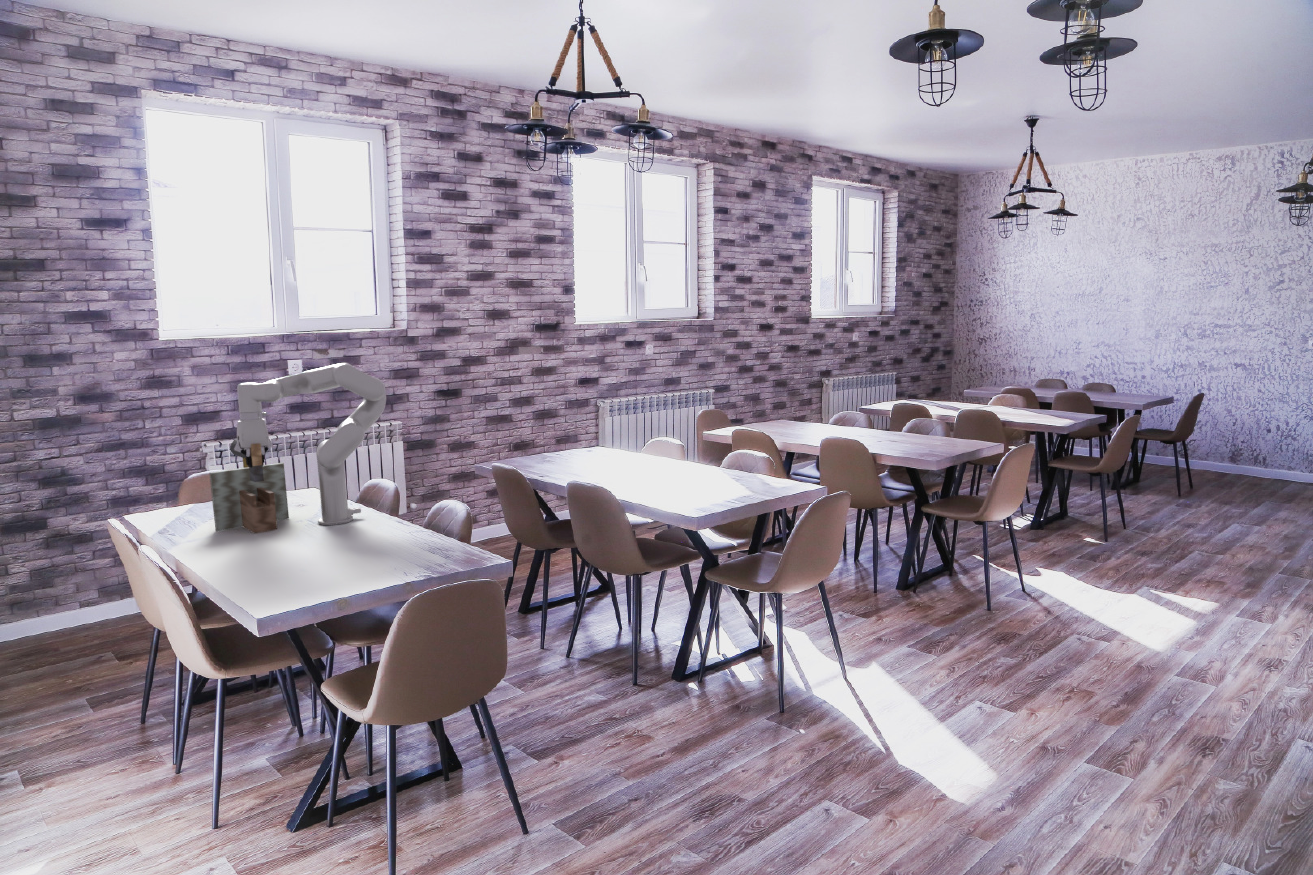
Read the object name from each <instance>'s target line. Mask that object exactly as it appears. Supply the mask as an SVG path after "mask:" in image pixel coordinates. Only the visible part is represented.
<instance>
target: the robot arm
mask: <svg viewBox="0 0 1313 875" xmlns="http://www.w3.org/2000/svg"><path fill="white" fill-rule="evenodd" d="M339 387H342V388H344V389H346V390H347V391H349V392H351V393H353V394H355V395H357V396H359V397H361V398H363V399H362V401H361V402H360V404H359V405H358V406H357V407H356V408H355V410H354V411H353V412H352V413H351V414H350V415H349V416H348V417H347V418H346V419H345V420H343V421H342V422H341V423H340V424H339V425H338V427H337V430H336V431H335V432H333V434H332V435H331V436H330V437H329V438H328V439H325V440H322V441H321V442H320V443H319V444H318V446H317V447H316V452H315V453H316V454H315V455H316V461H317V462H316V463H317V472H318V473H317V474H318V486H319V494H320V495H319V497H320V506H321V517H320V518H319V519H317V524H319V525H323V526H336V525H343V524H347V523H349V522H352V521H353V520H354V516H353V515H354V514H355V515H356V514H360V513H362V509H361V507H356V508H355V507H353V508H351V507H349V506H348V505H349V504H348V492H347V480H346V468H345V467H346V466H345V461H346V460H347V459H348V458H349V457H350V456H351V455H352V454H353V453H354V452H355V451H356V450H357V449H358V447H359V446H360V445H361V444H362V442H363V441H364V439H365V434H366V433H367V432H368V431H369V430H370V428H372V426H373V425H374V424H375V423H376V422H377V420H379V418H380V417H381V416H382V414H383V412H384V411H385V409H386V404H387V392H386V386H385V384H384V382H383V381H382V380H381V379H380V378H378V377H376V376H372V375H371V374H370V375H369V374H368V373H365V372H364V371H361V370H360V369H359V368H357V367H355V366H353V365H352V364H350V363H349V362H341V363H340V362H339V363H336V364H331V365H327V366H323V367H319V368H314V369H310V370H305V371H303V372H299V373H296V374H295V373H294V374H291V375H286V376H283V377H279V378H278V377H277V378H275V379H271V380H267V381H266V382H265V381H264V382H263V383H261V382H260V383H258V382H242V383H238V384H237V387H236V390H237V402H238V412H239V420H238V421H237V425H236V440H237V444H236V446H235V448H234V450H236V451H238V452H241V453H242V454H243V455H245V456H246V464H247V465H248V467H252V457H251V456H250V448H251V444H259V443H261V454H262V466H263V465H265V454H266V453H267V452H268V450H270V449H271V448H272V447H274V444H273V443H272V441H271V440H270V436H269V435H270V434H269V432H268V427H267V423H266V419H265V418H264V417H267V412H266V411H265V412H264V411H263V408H262V406H263V405H262V403H276V402H278V401H280V400H281V399H283V398H287V397H293V396H295V395H303V394H316V393H321V392H324V391H327V390H331V389H336V388H339ZM240 447H242V448H244V450H242V449H240Z"/></svg>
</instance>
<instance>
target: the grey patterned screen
mask: <svg viewBox="0 0 1313 875" xmlns="http://www.w3.org/2000/svg"><path fill="white" fill-rule="evenodd" d="M285 474H286V472H285V463H284V462H278V463H277V462H276V463H271V464H264V465H263V477H264V481H260V482H253V481H251V480H250V471H249V467H247V468H243V467H241V468H234V469H232V468H231V469H226V470H220V471H219V470H218V471H211V472H209V483H210V491H211V492H210V493H211V502H212V510H213V519H214V521H213V522H214V527H215V528H214V529H215V531H216V532H222V531H226V530H227V531H228V530H232V529H233V530H234V529H238V528H244V529H246V530H248V531H250V532H251V531H252V532H251V533H253V534H258V533H264V532H269V531H274V530H278V522H277V521H282V520H283V519H284V520H288V519H287V518H290V514H289V505H288V504H289V503H288V494H287V485H286V482H287V481H286V475H285Z"/></svg>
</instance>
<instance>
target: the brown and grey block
mask: <svg viewBox="0 0 1313 875" xmlns="http://www.w3.org/2000/svg"><path fill="white" fill-rule="evenodd" d="M250 456H251V457H252V467H249V471H250V480H251V481H253V482H260V481H264V477H263V466H262V454H261V443H259V444H251V448H250Z"/></svg>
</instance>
